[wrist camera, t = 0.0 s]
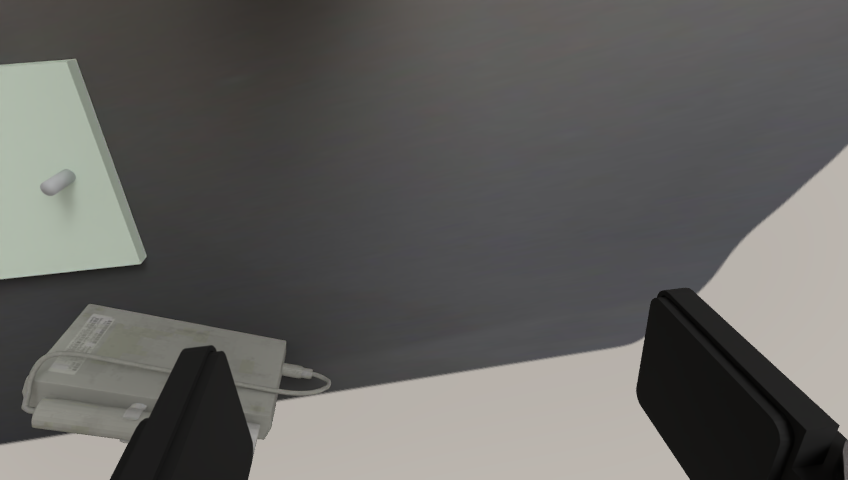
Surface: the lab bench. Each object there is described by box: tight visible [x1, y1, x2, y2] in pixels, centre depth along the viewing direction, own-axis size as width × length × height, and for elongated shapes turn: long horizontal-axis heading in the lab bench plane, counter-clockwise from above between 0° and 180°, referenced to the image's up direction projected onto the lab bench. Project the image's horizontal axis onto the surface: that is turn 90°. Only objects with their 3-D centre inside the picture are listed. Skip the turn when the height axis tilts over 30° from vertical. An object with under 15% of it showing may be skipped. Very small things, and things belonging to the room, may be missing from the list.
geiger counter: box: [22, 304, 331, 454], centre depth 47 cm, size 14×6×25 cm
